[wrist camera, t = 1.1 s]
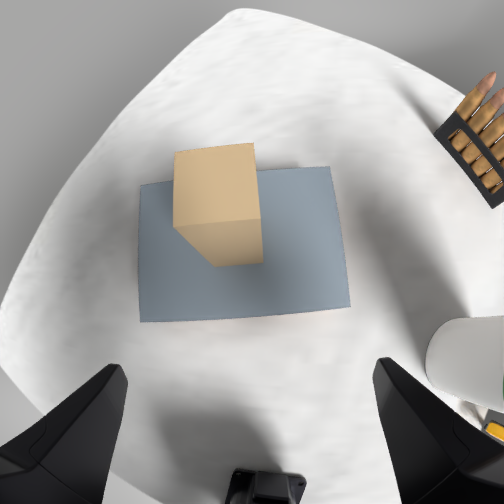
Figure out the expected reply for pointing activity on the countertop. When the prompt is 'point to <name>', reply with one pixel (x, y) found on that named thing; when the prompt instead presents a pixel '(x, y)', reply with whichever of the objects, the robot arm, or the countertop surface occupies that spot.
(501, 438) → the robot dog
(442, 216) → the countertop surface
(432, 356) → the cylindrical container
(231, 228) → the lid
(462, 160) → the ammunition clip
